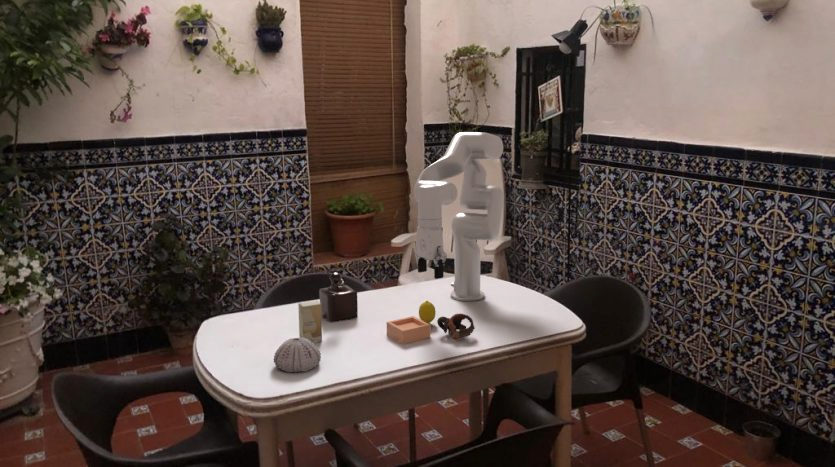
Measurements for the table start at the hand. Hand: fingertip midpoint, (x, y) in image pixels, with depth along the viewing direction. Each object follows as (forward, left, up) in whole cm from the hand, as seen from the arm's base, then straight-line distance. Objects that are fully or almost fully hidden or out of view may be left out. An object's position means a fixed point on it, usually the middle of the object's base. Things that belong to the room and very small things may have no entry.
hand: (430, 274), depth 221 cm
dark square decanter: (-23, -22, -17) cm, 36 cm away
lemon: (-1, -1, -17) cm, 17 cm away
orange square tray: (+5, -12, -17) cm, 21 cm away
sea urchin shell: (+7, -50, -17) cm, 53 cm away
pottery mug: (+13, +1, -17) cm, 22 cm away
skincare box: (-9, -39, -17) cm, 43 cm away
